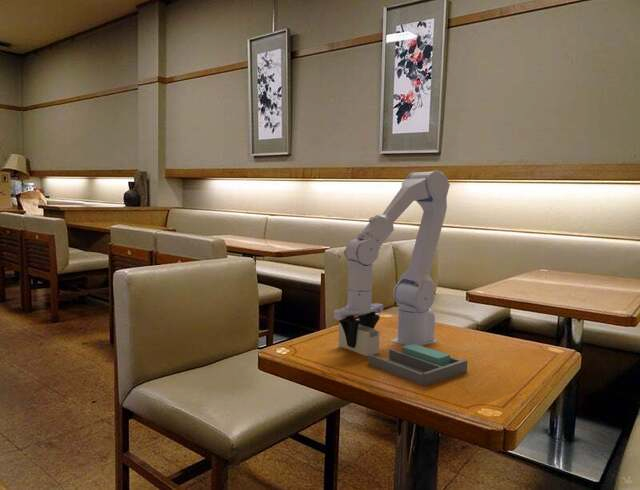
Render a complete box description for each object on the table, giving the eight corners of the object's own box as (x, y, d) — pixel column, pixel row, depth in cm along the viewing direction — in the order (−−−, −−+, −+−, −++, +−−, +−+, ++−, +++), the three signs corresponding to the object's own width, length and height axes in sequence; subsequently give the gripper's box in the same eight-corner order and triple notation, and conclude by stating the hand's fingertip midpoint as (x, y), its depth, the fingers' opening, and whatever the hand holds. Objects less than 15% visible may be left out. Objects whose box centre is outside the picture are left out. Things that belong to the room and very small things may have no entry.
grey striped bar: (350, 344, 122) (350, 321, 121) (379, 355, 114) (379, 330, 113) (338, 347, 119) (338, 323, 119) (366, 358, 111) (367, 333, 111)
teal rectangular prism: (413, 356, 112) (414, 343, 111) (449, 368, 104) (450, 355, 104) (401, 359, 109) (402, 346, 109) (437, 372, 101) (438, 358, 101)
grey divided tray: (409, 354, 115) (410, 342, 114) (466, 374, 102) (467, 360, 102) (368, 366, 106) (368, 353, 106) (425, 389, 94) (425, 374, 93)
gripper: (369, 284, 123) (368, 336, 124) (325, 289, 114) (324, 345, 115) (390, 288, 117) (388, 342, 118) (345, 294, 108) (344, 353, 109)
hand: (358, 344), depth 116 cm, fingers closed on grey striped bar, 4 cm apart
